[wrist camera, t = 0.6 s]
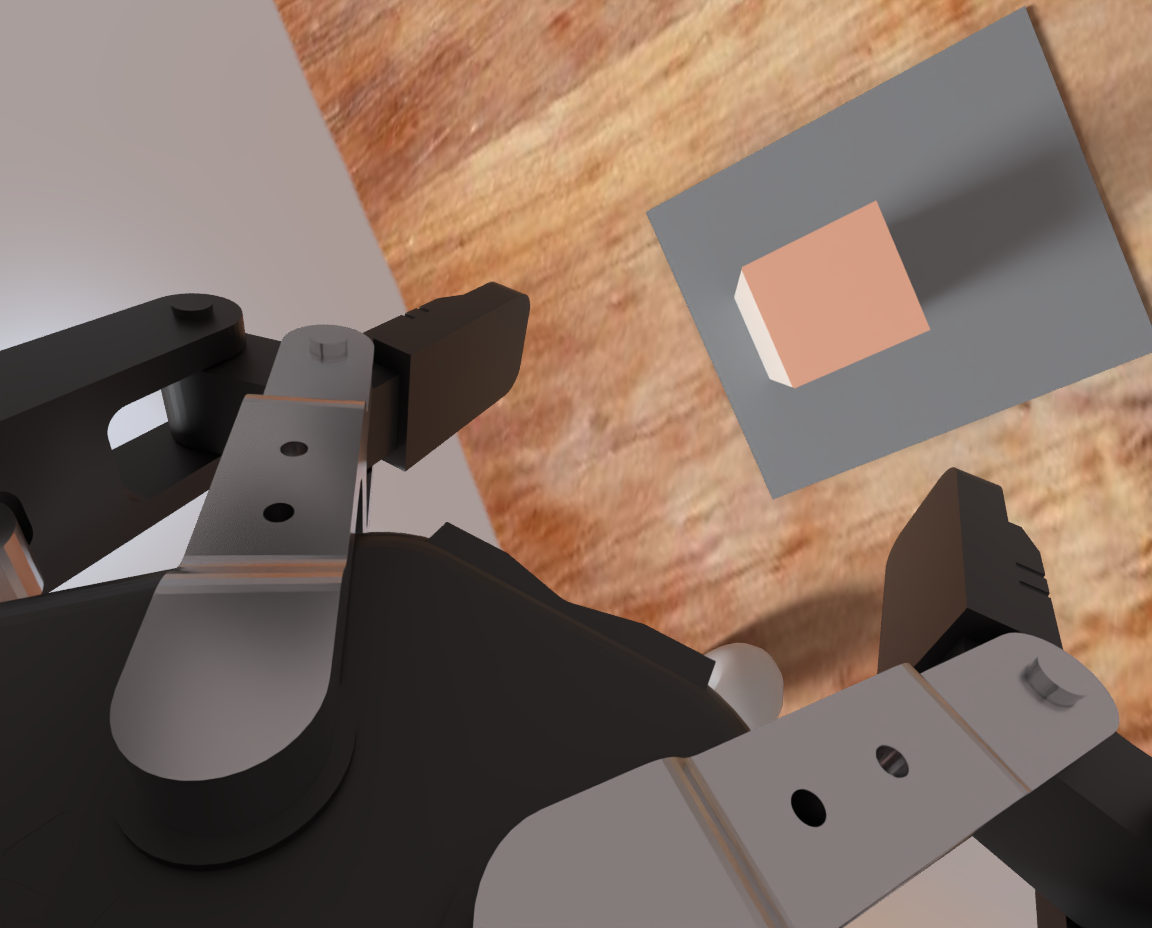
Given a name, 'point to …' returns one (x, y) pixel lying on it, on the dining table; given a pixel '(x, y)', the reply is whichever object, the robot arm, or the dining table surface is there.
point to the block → (829, 299)
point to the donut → (748, 682)
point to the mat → (919, 256)
